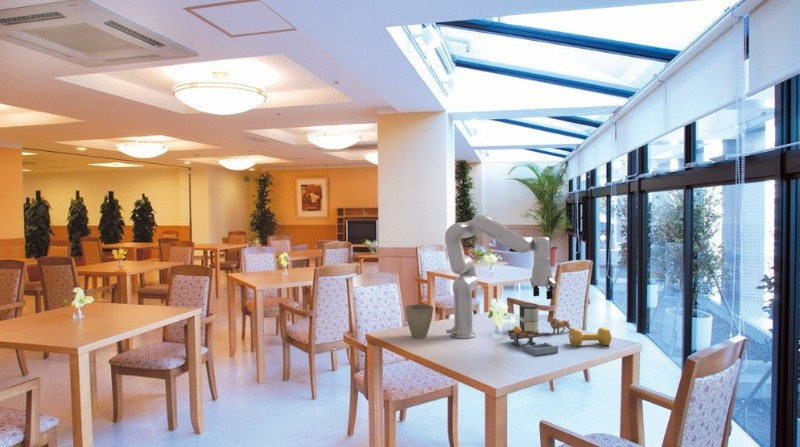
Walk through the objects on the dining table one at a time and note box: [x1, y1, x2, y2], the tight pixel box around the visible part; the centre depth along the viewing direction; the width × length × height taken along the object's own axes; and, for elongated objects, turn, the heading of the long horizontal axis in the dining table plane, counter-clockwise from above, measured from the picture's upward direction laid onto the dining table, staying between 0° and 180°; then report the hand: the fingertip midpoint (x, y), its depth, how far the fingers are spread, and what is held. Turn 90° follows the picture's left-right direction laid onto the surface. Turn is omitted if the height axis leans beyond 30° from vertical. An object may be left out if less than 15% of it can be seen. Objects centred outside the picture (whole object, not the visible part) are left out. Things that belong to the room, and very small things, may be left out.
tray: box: [523, 342, 559, 357], centre depth 223 cm, size 10×12×3 cm
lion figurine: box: [549, 317, 572, 335], centre depth 256 cm, size 15×5×9 cm, turn 122°
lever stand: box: [510, 334, 537, 348], centre depth 234 cm, size 4×12×6 cm, turn 113°
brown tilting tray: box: [507, 329, 552, 341], centre depth 236 cm, size 15×14×4 cm
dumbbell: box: [568, 327, 612, 347], centre depth 233 cm, size 19×9×8 cm, turn 92°
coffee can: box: [518, 302, 540, 332], centre depth 262 cm, size 10×10×14 cm
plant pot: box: [404, 303, 434, 339], centre depth 251 cm, size 15×15×16 cm
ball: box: [512, 325, 521, 333], centre depth 239 cm, size 4×4×4 cm
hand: (542, 297), depth 232 cm, fingers open, 9 cm apart
